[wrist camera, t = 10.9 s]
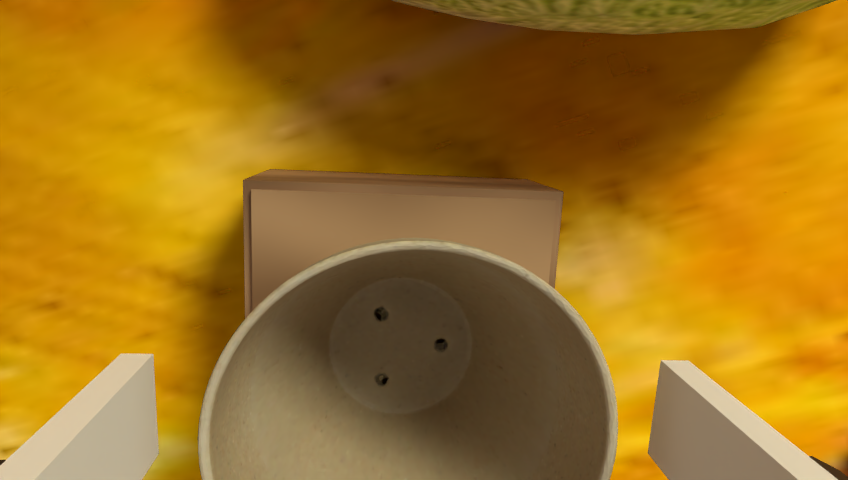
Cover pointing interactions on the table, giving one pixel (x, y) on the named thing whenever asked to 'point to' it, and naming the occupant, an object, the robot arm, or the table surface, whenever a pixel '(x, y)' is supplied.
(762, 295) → the table surface
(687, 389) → the robot arm
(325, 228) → the walnut block
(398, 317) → the flower pot
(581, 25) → the lettuce
